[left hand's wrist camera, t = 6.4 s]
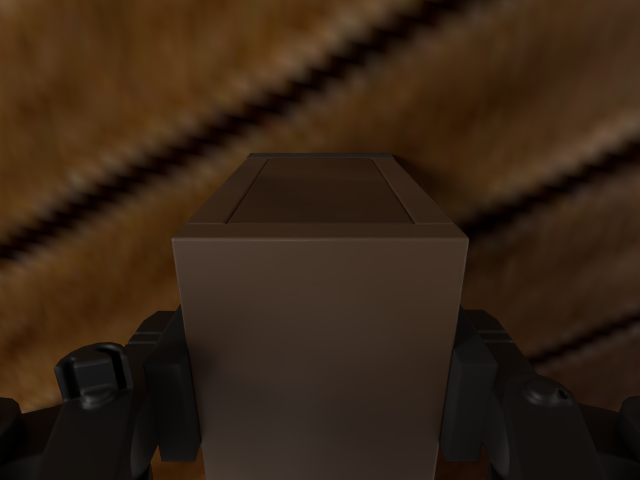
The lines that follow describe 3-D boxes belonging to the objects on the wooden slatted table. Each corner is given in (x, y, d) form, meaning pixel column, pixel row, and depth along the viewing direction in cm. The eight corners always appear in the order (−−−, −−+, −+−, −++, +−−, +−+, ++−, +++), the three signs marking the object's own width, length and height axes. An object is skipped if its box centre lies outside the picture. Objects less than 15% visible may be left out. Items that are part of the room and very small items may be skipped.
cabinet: (367, 512, 24) (394, 757, 16) (272, 512, 24) (246, 757, 16) (390, 153, 16) (471, 237, 8) (250, 153, 16) (169, 237, 8)
